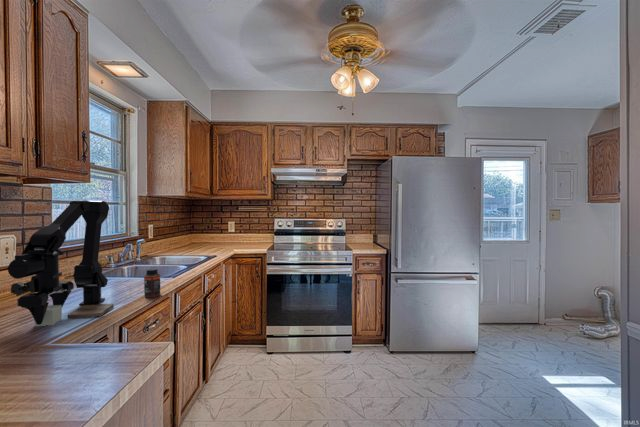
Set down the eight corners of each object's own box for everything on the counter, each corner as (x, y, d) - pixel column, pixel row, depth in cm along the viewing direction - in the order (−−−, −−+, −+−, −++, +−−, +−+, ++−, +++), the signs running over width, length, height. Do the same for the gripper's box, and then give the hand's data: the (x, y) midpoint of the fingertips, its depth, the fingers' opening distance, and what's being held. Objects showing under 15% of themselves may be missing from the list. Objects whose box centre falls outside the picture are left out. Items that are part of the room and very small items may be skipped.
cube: (44, 320, 105) (44, 305, 105) (61, 319, 106) (61, 304, 106) (34, 326, 100) (33, 310, 100) (52, 325, 101) (52, 309, 101)
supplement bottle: (163, 293, 136) (162, 267, 135) (156, 298, 130) (156, 270, 129) (148, 293, 136) (148, 267, 135) (141, 298, 130) (141, 270, 129)
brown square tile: (83, 308, 117) (83, 305, 117) (113, 306, 119) (113, 303, 119) (67, 318, 107) (67, 314, 107) (101, 316, 109) (101, 313, 109)
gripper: (37, 266, 110) (38, 310, 111) (-6, 279, 92) (-4, 332, 92) (73, 264, 112) (74, 308, 113) (39, 277, 94) (41, 329, 95)
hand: (48, 318), depth 103 cm, fingers open, 9 cm apart
